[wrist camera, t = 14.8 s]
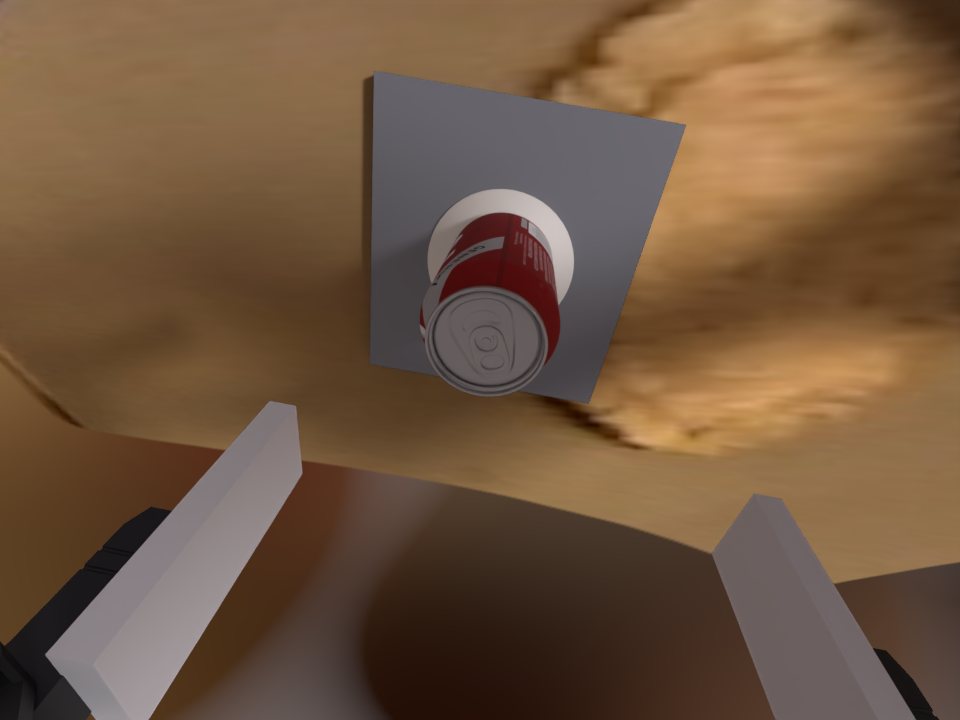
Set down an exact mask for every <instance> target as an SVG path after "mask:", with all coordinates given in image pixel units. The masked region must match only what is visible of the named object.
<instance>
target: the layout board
mask: <svg viewBox="0 0 960 720" xmlns="http://www.w3.org/2000/svg"><path fill="white" fill-rule="evenodd" d="M685 127H686V125H685V124H679V123H673V122H667V121H661V120H656V119H650V118H644V117H638V116H632V115H627V114H621V113H615V112H609V111H603V110H598V109H592V108H586V107H580V106H574V105H569V104H563V103H557V102H551V101H545V100H540V99H534V98H528V97H522V96H516V95H511V94H505V93H499V92H493V91H487V90H482V89H476V88H470V87H464V86H458V85H452V84H447V83H441V82H435V81H429V80H423V79H418V78H412V77H406V76H400V75H394V74H389V73H383V72H377V71H374V100H373V169H372V238H371V306H370V364H372V365H378V366H383V367H389V368H394V369H400V370H405V371H411V372H416V373H422V374H427V375H433V376H438V377H440V376H439V375H438V373H437V372H436V371H435V369H434V368H433V367H432V365H431V363H430V361H429V359H428V356H427V353H426V349H425V344H424V342H423V338H422V335H421V330H420V310H421V306H422V302H423V300H424V297H425V295H426V293H427V291H428V289H429V287H430V285H431V284H432V282H433V280H434V278H435V276H436V275H437V273H438V271H439V269H440V267H441V266H442V264H443V262H444V260H445V258H446V256H447V255H448V253H449V251H450V249H451V247H452V246H453V244H454V242H455V240H456V238H457V237H458V235H459V234H460V232H461V231H462V230H463V229H464V228H465V227H466V226H467V225H468V224H469V223H470V222H472V221H473V220H475V219H476V218H478V217H480V216H483V215H486V214H489V213H495V212H508V213H513V214H517V215H520V216H522V217H524V218H526V219H528V220H530V221H531V222H533V223H534V224H535V225H536V226H537V227H538V228H539V229H540V230H541V231H542V232H543V234H544V235H545V237H546V239H547V241H548V243H549V245H550V248H551V252H552V258H553V266H554V274H555V282H556V290H557V298H558V305H559V313H560V335H559V340H558V343H557V346H556V348H555V351H554V353H553V354H552V356H551V358H550V359H549V360H548V362H547V363H546V364H545V365H544V366H543V367H542V369H541V371H540V372H539V373H538V375H537V376H536V377H535V378H534V379H533V380H532V381H531V382H530V383H529V384H527V385H526V386H525V387H523V388H521V389H520V390H517V391H521V392H527V393H533V394H538V395H544V396H549V397H555V398H560V399H566V400H571V401H577V402H582V403H588V404H589V401H590V399H591V396H592V393H593V390H594V387H595V384H596V381H597V379H598V376H599V373H600V370H601V367H602V364H603V361H604V359H605V356H606V353H607V350H608V347H609V344H610V341H611V339H612V336H613V333H614V330H615V327H616V324H617V321H618V319H619V316H620V313H621V310H622V307H623V304H624V301H625V299H626V296H627V293H628V290H629V287H630V284H631V281H632V279H633V276H634V273H635V270H636V267H637V264H638V261H639V259H640V256H641V253H642V250H643V247H644V244H645V241H646V239H647V236H648V233H649V230H650V227H651V224H652V221H653V219H654V216H655V213H656V210H657V207H658V204H659V201H660V199H661V196H662V193H663V190H664V187H665V184H666V181H667V179H668V176H669V173H670V170H671V167H672V164H673V161H674V159H675V156H676V153H677V150H678V147H679V144H680V141H681V139H682V136H683V133H684V130H685Z"/></svg>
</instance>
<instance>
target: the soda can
mask: <svg viewBox="0 0 960 720" xmlns="http://www.w3.org/2000/svg"><path fill="white" fill-rule="evenodd" d="M420 330H421V335H422V338H423V342H424V344H425V349H426V353H427V356H428V359H429V361H430V363H431V365H432V367H433V368H434V369H435V371H436V372H437V373H438V375H439V376H440V377H441V378H442V379H443V380H445V381H446V382H447V383H448V384H450V385H451V386H453V387H455V388H456V389H458V390H460V391H463V392H465V393H468V394H472V395H476V396H484V397H495V396H502V395H507V394H510V393H513V392H515V391H517V390H520V389H521V388H523V387H525V386H526V385H527V384H529V383H530V382H531V381H532V380H533V379H534V378H535V377H536V376H537V375H538V373H539V372H540V371H541V369H542V367H543V366H544V365H545V364H546V363H547V362H548V360H549V359H550V358H551V356H552V354H553V353H554V351H555V348H556V346H557V343H558V340H559V335H560V313H559V305H558V298H557V290H556V282H555V274H554V266H553V258H552V252H551V248H550V245H549V243H548V241H547V239H546V237H545V235H544V234H543V232H542V231H541V230H540V229H539V228H538V227H537V226H536V225H535V224H534V223H533V222H531V221H530V220H528V219H526V218H524V217H522V216H520V215H517V214H513V213H508V212H495V213H489V214H486V215H483V216H480V217H478V218H476V219H475V220H473V221H472V222H470V223H469V224H468V225H467V226H466V227H465V228H464V229H463V230H462V231H461V232H460V234H459V235H458V237H457V238H456V240H455V242H454V244H453V246H452V247H451V249H450V251H449V253H448V255H447V256H446V258H445V260H444V262H443V264H442V266H441V267H440V269H439V271H438V273H437V275H436V276H435V278H434V280H433V282H432V284H431V285H430V287H429V289H428V291H427V293H426V295H425V297H424V300H423V302H422V306H421V310H420Z"/></svg>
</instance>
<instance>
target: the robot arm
mask: <svg viewBox="0 0 960 720" xmlns="http://www.w3.org/2000/svg"><path fill="white" fill-rule="evenodd" d="M302 474H303V473H302V463H301V453H300V442H299V432H298V421H297V411H296V406H295V405H289V404H284V403H279V402H274V401H269V402H268V403H267V405H266V406H265V407H264V408H263V409H262V410H261V411H260V412H259V414H258V415H257V416H256V417H255V418H254V419H253V420H252V421H251V423H250V424H249V425H248V426H247V427H246V428H245V429H244V431H243V432H242V433H241V434H240V435H239V436H238V437H237V438H236V440H235V441H234V442H233V443H232V444H231V445H230V446H229V447H228V449H227V450H226V451H225V452H224V453H223V454H222V456H221V457H220V458H219V459H218V460H217V461H216V462H215V463H214V464H213V466H212V467H211V468H210V469H209V470H208V471H207V472H206V474H205V475H204V476H203V477H202V478H201V479H200V480H199V481H198V483H197V484H196V485H195V486H194V487H193V488H192V489H191V491H190V492H189V493H188V494H187V495H186V496H185V497H184V498H183V500H182V501H181V502H180V503H179V504H178V505H177V506H176V507H175V508H174V510H173V511H169V510H165V509H159V508H154V507H150V508H149V509H147V510H145V511H144V512H142V513H141V514H139V515H138V516H136V517H134V518H133V519H131V520H130V521H128V522H126V523H125V524H124V525H123V526H122V527H121V528H120V529H119V530H118V531H117V532H116V533H115V534H114V535H113V536H112V537H111V538H110V539H109V540H108V541H107V542H106V543H105V544H104V545H103V548H102V550H100V551H97V552H96V553H95V554H94V555H93V556H92V558H91V559H90V560H89V561H88V562H87V563H86V564H85V567H84V568H83V569H80V570H79V571H78V572H77V573H76V574H75V575H74V576H73V577H72V578H71V579H70V580H69V581H68V582H67V583H66V585H64V586H63V587H62V588H61V590H59V592H58V593H57V594H56V595H55V596H54V597H53V598H52V599H51V600H50V601H49V602H48V603H47V604H46V605H45V606H44V607H43V608H42V609H41V610H40V611H39V612H38V613H37V614H36V615H35V616H34V617H33V618H32V619H31V620H30V621H29V622H28V623H27V624H26V625H25V626H24V628H23V629H22V630H21V631H20V632H19V633H18V634H17V635H16V636H15V637H14V638H13V639H12V640H11V641H10V642H9V643H8V644H6V645H5V646H4V645H3V644H2V643H1V642H0V720H86V718H87V717H88V716H89V714H90V713H91V714H92V715H93V716H94V718H95V719H96V720H148V719H149V718H150V716H151V715H152V713H153V711H154V710H155V708H156V707H157V705H158V703H159V702H160V700H161V699H162V697H163V696H164V694H165V692H166V691H167V689H168V687H169V686H170V684H171V683H172V681H173V680H174V678H175V676H176V675H177V673H178V672H179V670H180V668H181V667H182V665H183V663H184V662H185V660H186V659H187V657H188V656H189V654H190V652H191V651H192V649H193V648H194V646H195V644H196V643H197V641H198V640H199V638H200V636H201V635H202V633H203V632H204V630H205V628H206V627H207V625H208V624H209V622H210V621H211V619H212V617H213V616H214V614H215V612H216V611H217V609H218V608H219V606H220V605H221V603H222V601H223V600H224V598H225V596H226V595H227V593H228V592H229V590H230V589H231V587H232V585H233V584H234V582H235V581H236V579H237V577H238V575H239V574H240V572H241V571H242V569H243V568H244V566H245V565H246V563H247V561H248V560H249V558H250V556H251V555H252V553H253V552H254V550H255V549H256V547H257V545H258V544H259V542H260V541H261V539H262V537H263V536H264V534H265V533H266V531H267V529H268V528H269V526H270V525H271V523H272V521H273V520H274V518H275V517H276V515H277V514H278V512H279V510H280V509H281V507H282V505H283V504H284V502H285V501H286V499H287V498H288V496H289V494H290V493H291V491H292V490H293V488H294V486H295V485H296V483H297V481H298V480H299V478H300V476H301V475H302ZM712 555H713V558H714V560H715V563H716V566H717V568H718V571H719V573H720V576H721V579H722V581H723V584H724V586H725V589H726V591H727V594H728V597H729V599H730V602H731V604H732V607H733V610H734V612H735V615H736V618H737V620H738V623H739V625H740V628H741V630H742V633H743V636H744V639H745V641H746V644H747V646H748V649H749V651H750V654H751V657H752V659H753V662H754V665H755V667H756V670H757V672H758V675H759V678H760V680H761V683H762V685H763V688H764V690H765V693H766V696H767V698H768V701H769V704H770V706H771V709H772V711H773V714H774V717H775V719H776V720H939V719H938V718H937V717H935V716H934V715H933V713H932V711H933V710H932V708H931V707H930V705H929V704H928V702H927V701H926V699H925V697H924V696H923V694H922V693H921V691H920V690H919V688H918V687H917V685H916V683H915V682H914V681H913V679H912V678H911V677H910V676H909V675H908V674H907V673H906V671H905V670H904V669H903V668H902V667H901V666H900V665H899V664H898V663H897V662H896V661H895V660H894V659H893V657H891V655H890V654H889V653H888V652H887V651H885V650H880V649H875V648H872V647H871V645H870V643H869V642H868V640H867V638H866V637H865V635H864V634H863V632H862V630H861V629H860V627H859V625H858V624H857V622H856V621H855V619H854V617H853V616H852V614H851V612H850V611H849V609H848V607H847V606H846V604H845V603H844V601H843V599H842V597H841V596H840V594H839V593H838V591H837V589H836V588H835V586H834V584H833V583H832V581H831V579H830V578H829V576H828V574H827V573H826V571H825V570H824V568H823V566H822V565H821V563H820V561H819V560H818V558H817V556H816V555H815V553H814V552H813V550H812V548H811V547H810V545H809V543H808V542H807V540H806V538H805V537H804V535H803V533H802V532H801V530H800V529H799V527H798V525H797V524H796V522H795V520H794V519H793V517H792V515H791V514H790V512H789V511H788V509H787V507H786V506H785V504H784V502H783V501H782V499H780V498H775V497H770V496H765V495H759V494H753V496H752V497H751V498H750V500H749V501H748V503H747V504H746V505H745V507H744V508H743V510H742V511H741V513H740V514H739V515H738V517H737V518H736V520H735V521H734V522H733V524H732V525H731V527H730V528H729V529H728V531H727V532H726V534H725V535H724V537H723V538H722V539H721V541H720V542H719V544H718V545H717V546H716V548H715V549H714V551H713V552H712Z"/></svg>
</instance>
